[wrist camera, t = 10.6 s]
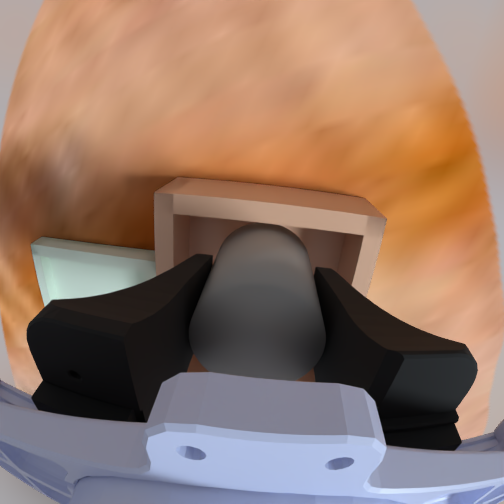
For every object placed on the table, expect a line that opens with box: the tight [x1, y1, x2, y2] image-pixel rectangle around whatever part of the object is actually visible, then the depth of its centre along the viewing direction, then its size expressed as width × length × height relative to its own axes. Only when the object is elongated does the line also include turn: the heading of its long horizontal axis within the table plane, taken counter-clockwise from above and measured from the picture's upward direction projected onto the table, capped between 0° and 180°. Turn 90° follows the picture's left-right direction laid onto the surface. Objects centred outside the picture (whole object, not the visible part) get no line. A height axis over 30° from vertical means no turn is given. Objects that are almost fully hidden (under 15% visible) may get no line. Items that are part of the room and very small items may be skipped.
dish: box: [154, 177, 387, 382], centre depth 15 cm, size 11×9×3 cm
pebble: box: [189, 222, 326, 381], centre depth 11 cm, size 4×4×5 cm
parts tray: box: [31, 237, 156, 306], centre depth 18 cm, size 12×9×1 cm
